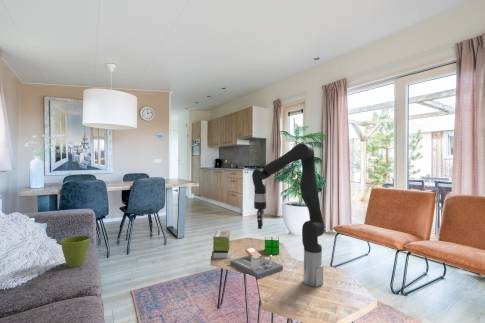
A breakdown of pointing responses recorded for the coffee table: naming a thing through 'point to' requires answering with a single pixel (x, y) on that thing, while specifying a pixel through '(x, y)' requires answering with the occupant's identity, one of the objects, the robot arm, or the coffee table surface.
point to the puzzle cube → (271, 245)
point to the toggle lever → (269, 259)
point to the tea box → (221, 244)
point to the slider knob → (255, 262)
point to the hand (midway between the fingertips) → (260, 227)
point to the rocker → (253, 252)
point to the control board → (263, 271)
